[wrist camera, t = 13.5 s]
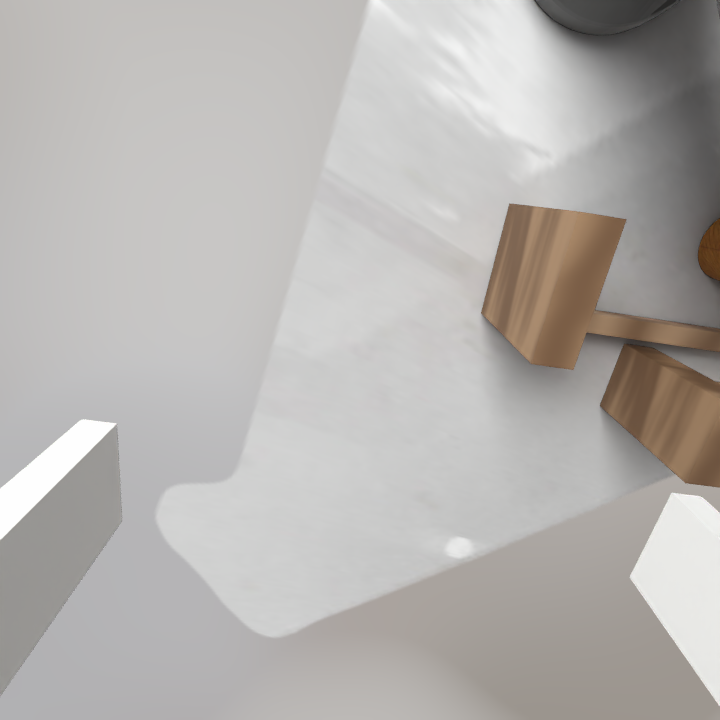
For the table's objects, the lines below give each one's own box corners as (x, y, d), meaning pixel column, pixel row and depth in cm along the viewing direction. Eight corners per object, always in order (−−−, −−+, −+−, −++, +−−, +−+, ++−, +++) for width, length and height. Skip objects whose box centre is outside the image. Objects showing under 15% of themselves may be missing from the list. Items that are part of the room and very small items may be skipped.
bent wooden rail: (481, 313, 42) (531, 363, 30) (538, 90, 36) (632, 41, 24) (747, 352, 44) (894, 415, 32) (850, 146, 37) (1086, 128, 25)
